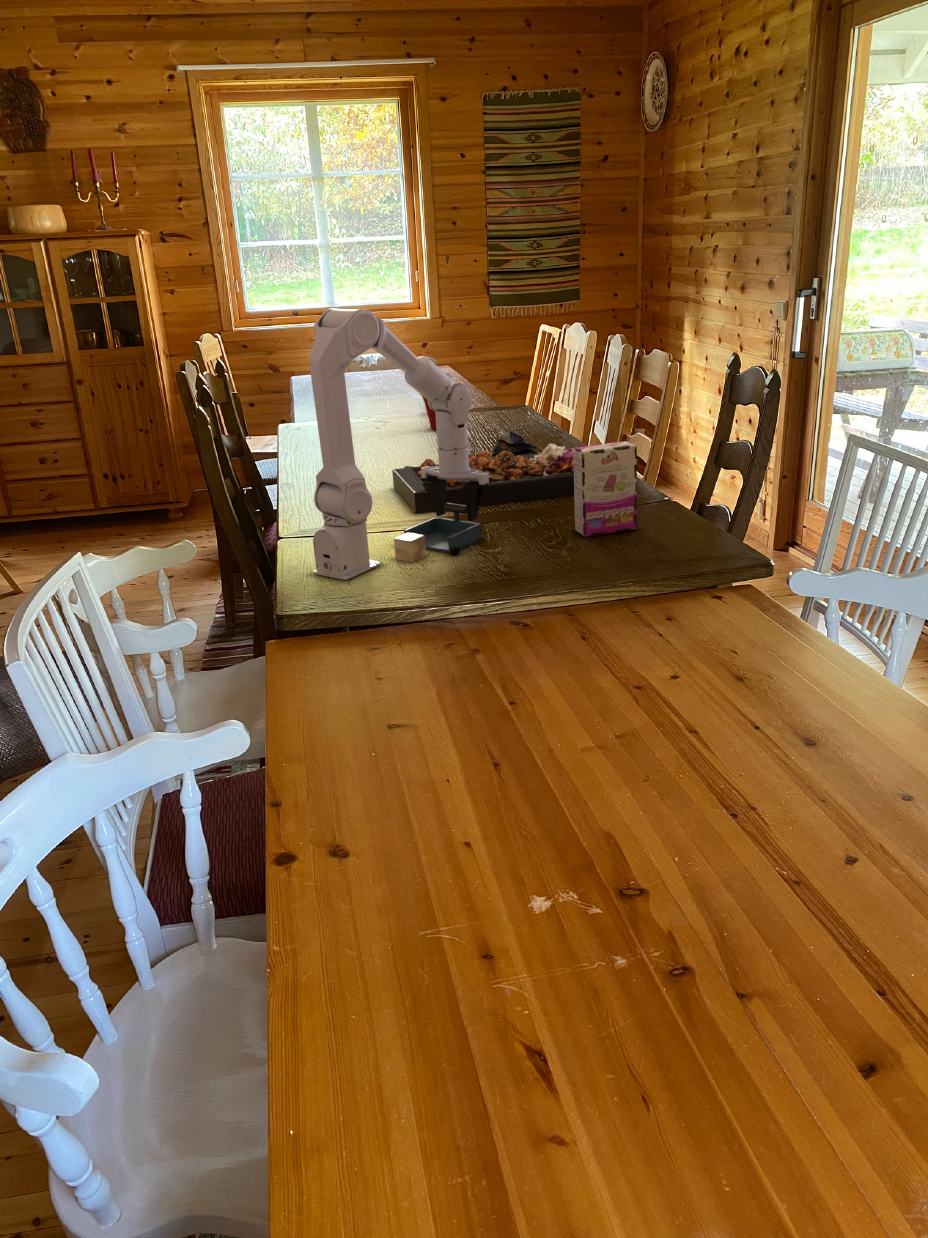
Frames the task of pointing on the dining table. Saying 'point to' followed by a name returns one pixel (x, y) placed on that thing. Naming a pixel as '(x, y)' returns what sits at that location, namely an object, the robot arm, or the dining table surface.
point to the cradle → (455, 550)
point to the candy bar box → (605, 488)
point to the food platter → (497, 478)
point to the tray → (448, 530)
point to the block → (410, 547)
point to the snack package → (512, 444)
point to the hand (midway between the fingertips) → (456, 517)
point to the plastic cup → (430, 414)
